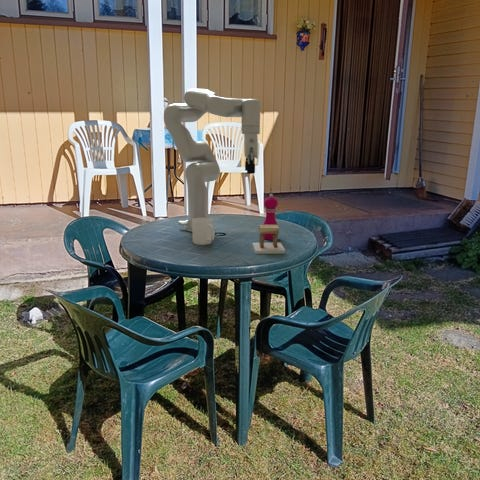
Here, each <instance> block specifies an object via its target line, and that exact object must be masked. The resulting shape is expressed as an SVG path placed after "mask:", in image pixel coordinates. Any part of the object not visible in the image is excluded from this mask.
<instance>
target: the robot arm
mask: <svg viewBox="0 0 480 480" xmlns="http://www.w3.org/2000/svg"><path fill="white" fill-rule="evenodd" d="M183 95H184V96H183V100H184V103H178V102H177V103H171V104H169V105H168V106H166V107H165V109H164V112H163V122H164V125H165V128H166V130H167V132H168V133H169V135H170V136H171V138H172V140H173V142H174V145H175V147H176V149H177V152H178V154H179V156H180V158H181V160H182V161H183V162H184V163H190V164H188V165H187V166H186V168H185V171H184V173H185V176H184V177H185V181H186V185H187V219H185V220H179V221H178V225H179V226H185V227H184V230H185V231H187V232H192V233H193V230H192V219H194V218H209V191H208V188H207V186H206V183H208V182H214V181H217V180H218V179H219V177H220V176H221V170H220V169H221V168H220V166H219V163H218V161H217V159H216V156H215V154H214V152H213V150H212V148H211V146H210V144H209V143H207V142H206V141H203V140H194V139H193V137H192V134H191V132H190V130H189V129H188V128H187V126H185V125H184V124H183V123H194V122H197V121H199V120H200V119H201V118H202V117H203V116H205V114H206V113H207V112H208V113H209V114H211V115H215V116H218V117H224V118H241V134H242V135H244V136H243V141H244V142H243V147H244V148H243V150H244V151H243V152H244V157H245V160H244V170H245V171H246V173H247V174H248V175H249V174H253V175H254V174H255V172H256V160H255V159H258V158H259V156H258V155H259V154H258V153H259V149H258V148H259V147H258V146H259V140H258V139H259V137H258V135H260V134H261V101H260V100H259V99H257V98H237V97H235V98H233V97H221V96H219V95H218V93H217V92H214V91H211V90H210V89H207V88H190V89H188V90H186V91H185V92H184V94H183Z"/></svg>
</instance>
